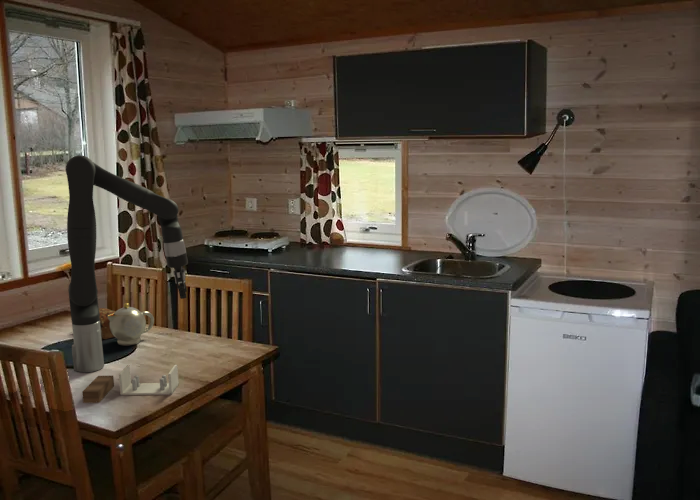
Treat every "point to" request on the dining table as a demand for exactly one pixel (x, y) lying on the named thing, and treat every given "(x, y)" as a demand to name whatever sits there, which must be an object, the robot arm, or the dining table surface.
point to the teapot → (129, 325)
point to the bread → (105, 323)
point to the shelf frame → (147, 384)
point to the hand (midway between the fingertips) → (183, 295)
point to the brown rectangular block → (98, 389)
